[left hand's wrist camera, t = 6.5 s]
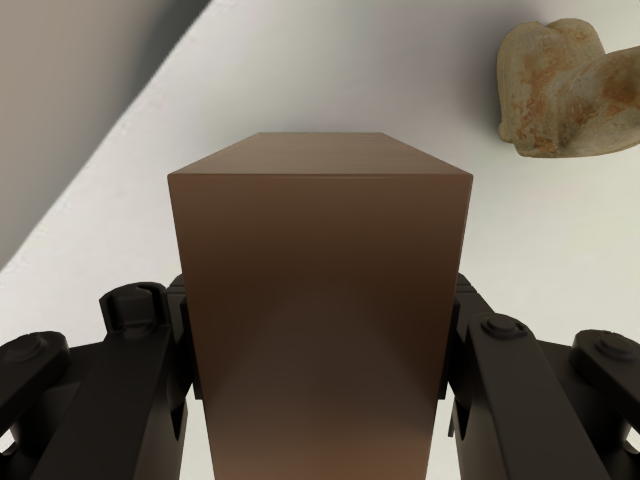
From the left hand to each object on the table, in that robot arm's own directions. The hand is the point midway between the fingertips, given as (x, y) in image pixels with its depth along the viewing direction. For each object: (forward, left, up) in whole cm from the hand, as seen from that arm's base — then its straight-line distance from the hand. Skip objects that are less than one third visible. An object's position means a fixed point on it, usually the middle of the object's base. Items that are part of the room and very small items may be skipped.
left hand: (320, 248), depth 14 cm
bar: (+10, +9, -1) cm, 13 cm away
